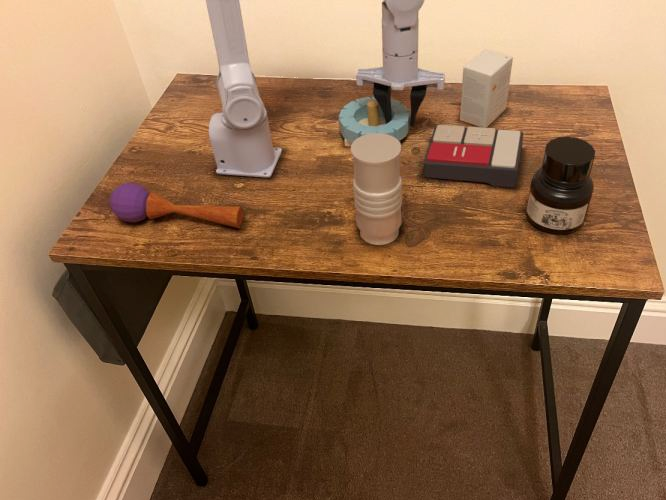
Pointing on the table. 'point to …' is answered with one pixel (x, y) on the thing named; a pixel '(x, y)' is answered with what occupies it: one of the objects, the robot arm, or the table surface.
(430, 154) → the button keypad
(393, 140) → the ribbed beige cylinder
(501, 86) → the small box
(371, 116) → the peg stand
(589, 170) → the ink bottle
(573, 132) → the table surface
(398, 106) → the ring
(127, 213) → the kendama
